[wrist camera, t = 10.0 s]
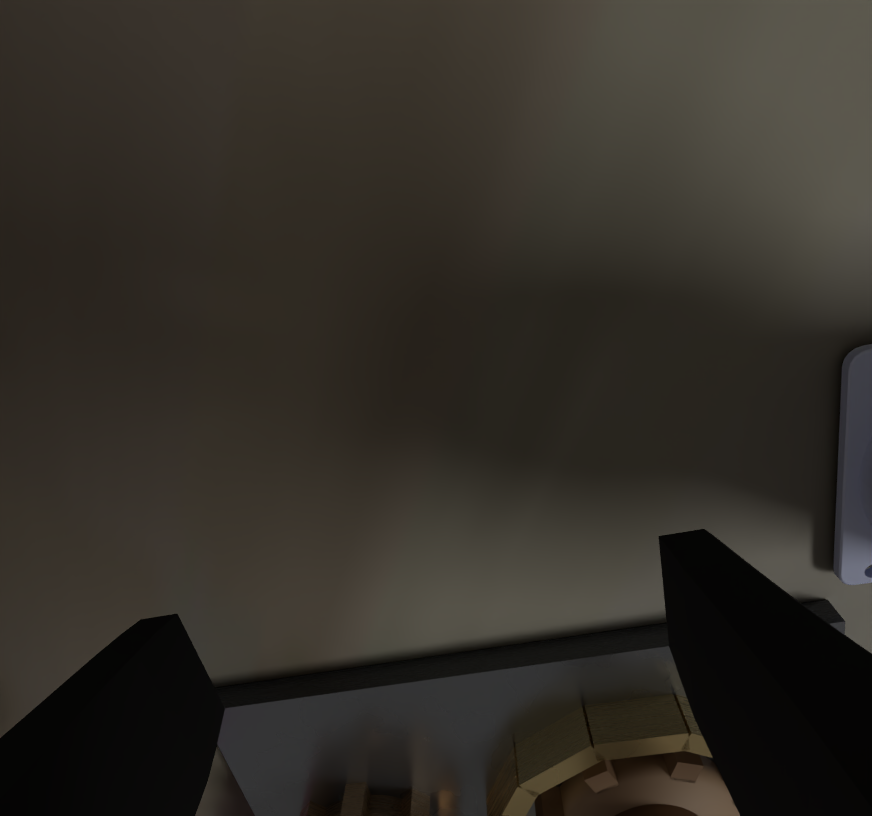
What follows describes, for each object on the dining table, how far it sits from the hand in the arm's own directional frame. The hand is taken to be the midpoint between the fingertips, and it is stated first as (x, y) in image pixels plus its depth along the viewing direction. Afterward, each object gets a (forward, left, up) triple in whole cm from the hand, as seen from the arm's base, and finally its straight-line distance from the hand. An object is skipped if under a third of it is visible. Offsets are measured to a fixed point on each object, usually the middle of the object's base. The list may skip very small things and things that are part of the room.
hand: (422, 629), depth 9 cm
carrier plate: (0, +18, -9) cm, 20 cm away
